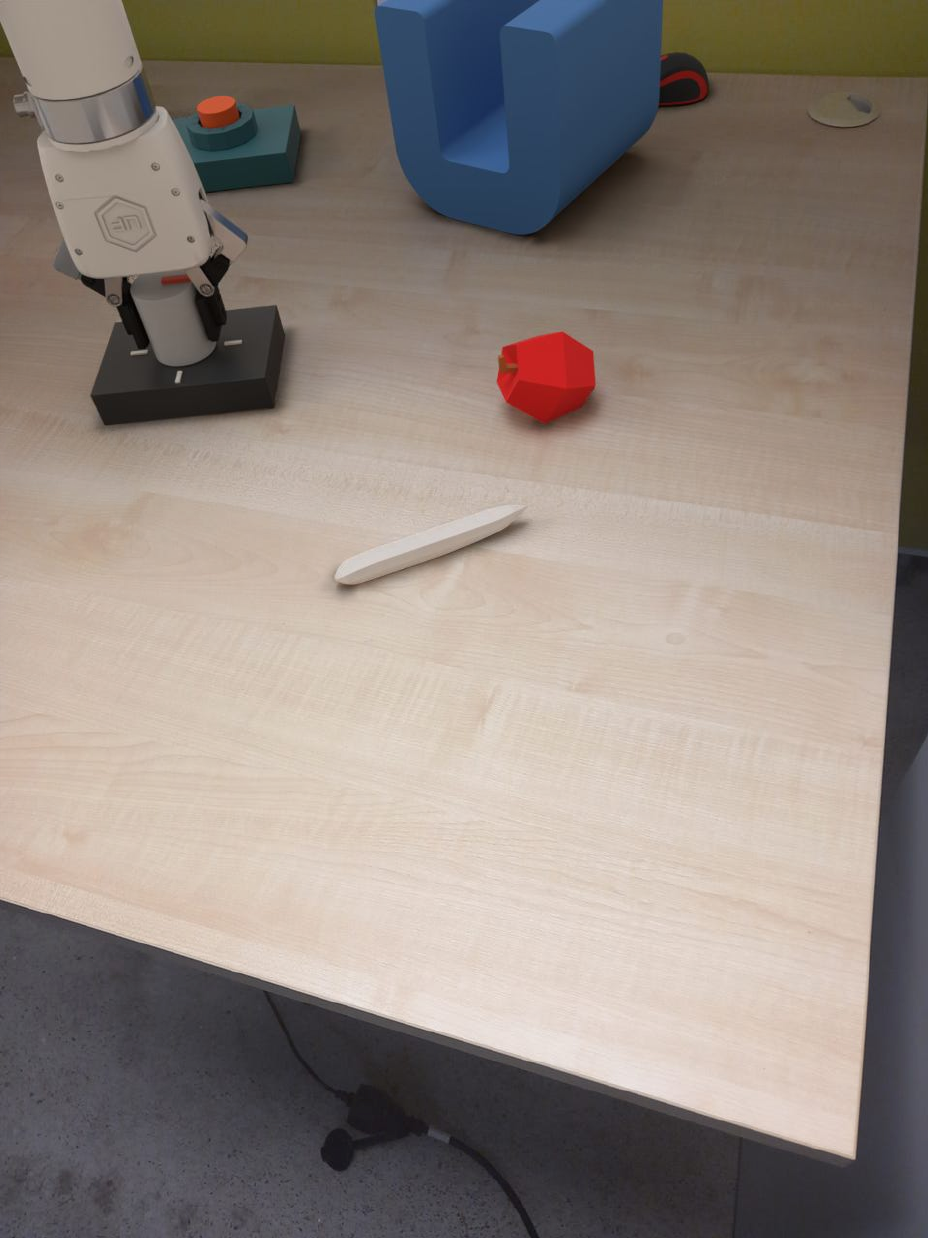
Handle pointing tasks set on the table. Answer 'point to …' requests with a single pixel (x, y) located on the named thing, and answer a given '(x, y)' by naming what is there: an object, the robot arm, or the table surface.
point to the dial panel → (193, 373)
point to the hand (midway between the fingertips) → (180, 333)
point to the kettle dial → (171, 317)
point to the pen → (426, 544)
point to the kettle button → (218, 112)
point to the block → (516, 99)
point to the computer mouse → (681, 80)
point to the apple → (546, 375)
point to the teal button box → (244, 148)
